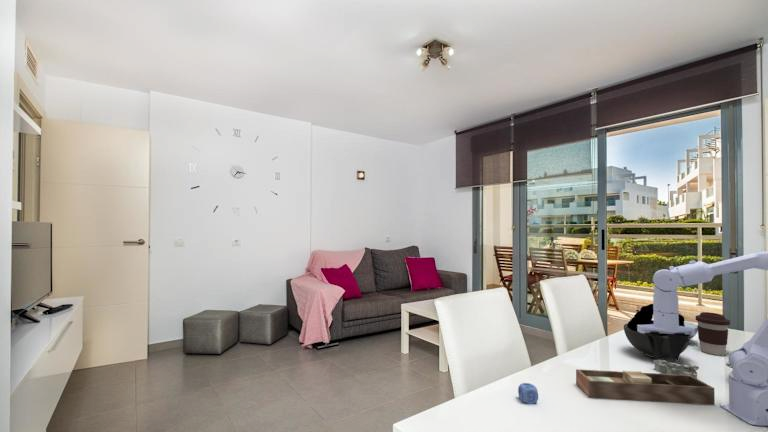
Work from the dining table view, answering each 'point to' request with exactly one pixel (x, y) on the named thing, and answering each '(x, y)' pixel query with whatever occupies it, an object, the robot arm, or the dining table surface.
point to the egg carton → (675, 368)
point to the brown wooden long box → (645, 387)
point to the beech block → (636, 377)
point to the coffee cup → (712, 333)
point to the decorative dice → (528, 393)
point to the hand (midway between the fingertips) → (666, 358)
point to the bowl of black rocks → (640, 339)
